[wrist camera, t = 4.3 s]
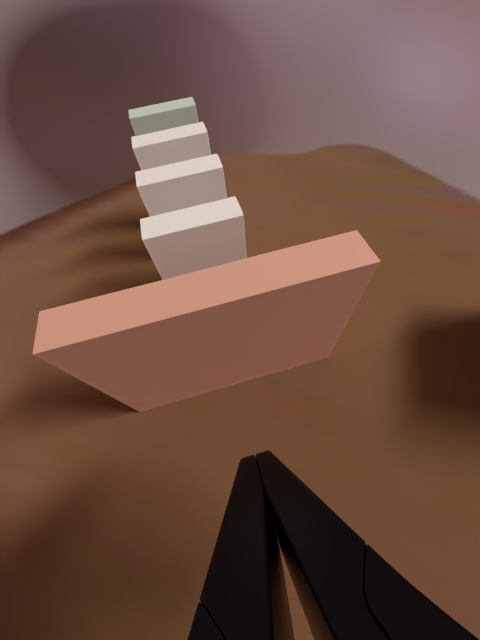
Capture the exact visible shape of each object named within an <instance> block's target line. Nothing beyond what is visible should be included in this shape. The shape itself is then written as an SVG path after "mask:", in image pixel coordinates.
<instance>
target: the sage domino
mask: <svg viewBox="0 0 480 640" xmlns="http://www.w3.org/2000/svg"><path fill="white" fill-rule="evenodd" d="M129 119H130V121H131V124H132V127H133V130H134V132H135V135H136V136H139V135H143V134H148V133H152V132H157V131H162V130H166V129H171V128H176V127H180V126H185V125H190V124H194V123H199V121H198V115H197V110H196V105H195V102H194V100H193V98H192V97H189V98H184V99H179V100H174V101H170V102H165V103H160V104H155V105H150V106H146V107H141V108H136V109H131V110H129Z"/></svg>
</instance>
